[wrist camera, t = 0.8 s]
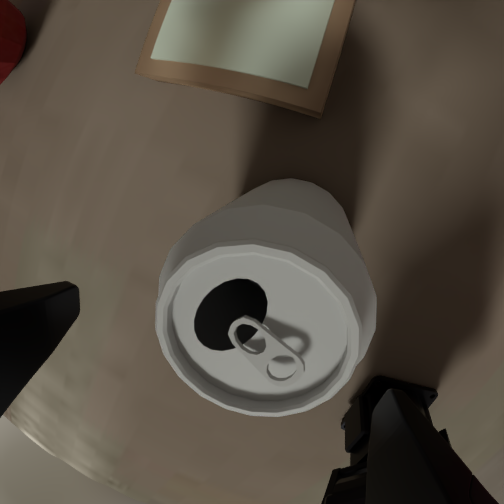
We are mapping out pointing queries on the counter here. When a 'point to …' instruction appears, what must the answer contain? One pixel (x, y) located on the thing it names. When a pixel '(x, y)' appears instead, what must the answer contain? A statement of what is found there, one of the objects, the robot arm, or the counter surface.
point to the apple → (10, 37)
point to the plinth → (250, 48)
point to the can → (267, 301)
